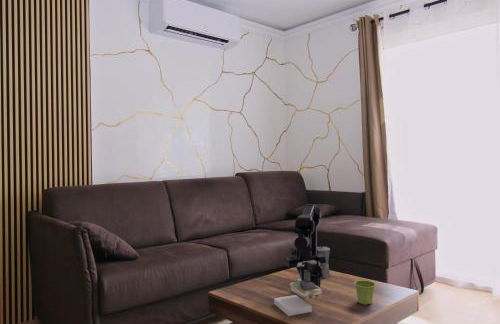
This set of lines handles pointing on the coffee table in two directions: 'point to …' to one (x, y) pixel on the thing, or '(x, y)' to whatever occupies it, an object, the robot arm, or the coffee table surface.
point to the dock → (292, 305)
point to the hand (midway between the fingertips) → (305, 279)
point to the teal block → (299, 282)
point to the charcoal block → (309, 286)
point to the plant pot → (364, 291)
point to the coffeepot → (324, 266)
